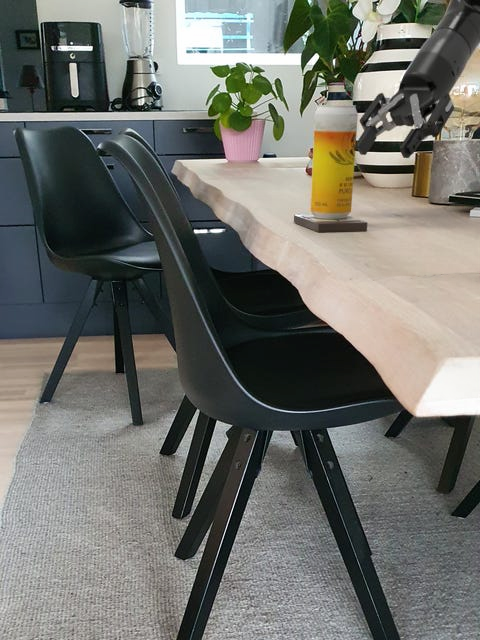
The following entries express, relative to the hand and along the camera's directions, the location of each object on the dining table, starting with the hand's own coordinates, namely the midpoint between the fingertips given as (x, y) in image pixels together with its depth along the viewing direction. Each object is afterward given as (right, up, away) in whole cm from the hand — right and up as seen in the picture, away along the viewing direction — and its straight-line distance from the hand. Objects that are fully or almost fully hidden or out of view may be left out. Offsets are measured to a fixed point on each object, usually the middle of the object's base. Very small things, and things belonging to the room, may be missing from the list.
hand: (381, 152), depth 122 cm
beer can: (-8, -11, -3) cm, 14 cm away
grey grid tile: (-8, -12, -2) cm, 15 cm away
